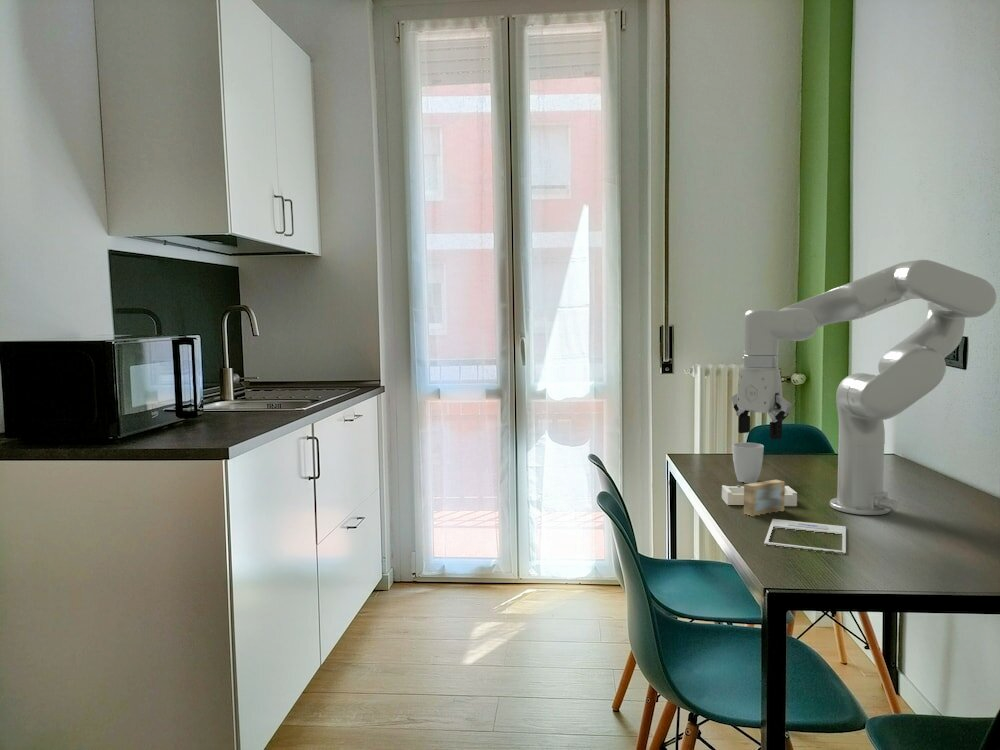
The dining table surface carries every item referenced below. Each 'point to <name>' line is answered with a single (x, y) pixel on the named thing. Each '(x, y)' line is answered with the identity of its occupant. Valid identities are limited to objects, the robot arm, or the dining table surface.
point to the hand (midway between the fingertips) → (759, 435)
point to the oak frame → (764, 497)
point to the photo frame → (807, 527)
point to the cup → (747, 461)
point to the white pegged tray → (736, 495)
